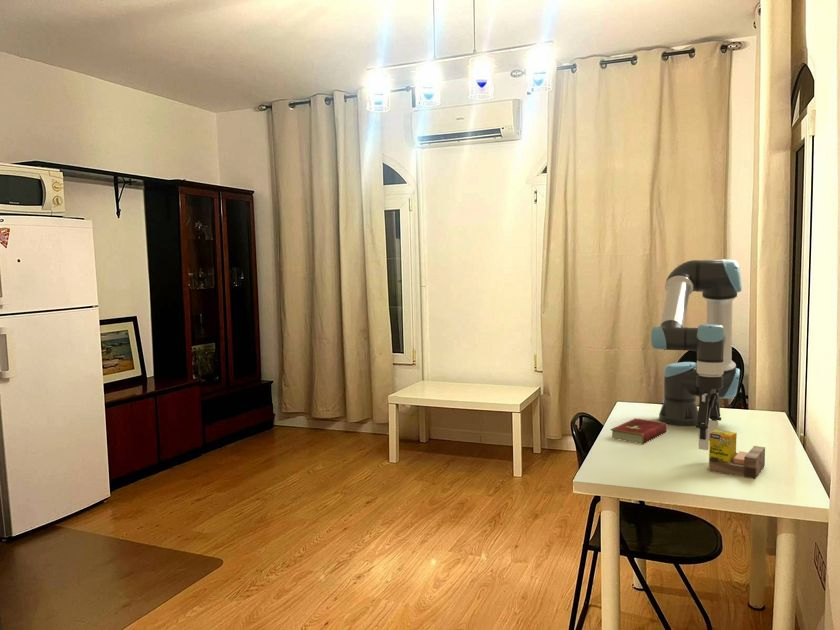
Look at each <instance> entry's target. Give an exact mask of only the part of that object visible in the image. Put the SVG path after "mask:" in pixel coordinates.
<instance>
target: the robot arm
mask: <svg viewBox="0 0 840 630" xmlns="http://www.w3.org/2000/svg"><path fill="white" fill-rule="evenodd" d="M664 288H665V292H666V293H665V301H664V305H663V310H662V313H661V318H660V319H661V320H660V324H659V326H653V327H652V329H651V334H650V342H651V347H652V349H655V350H664V351H689V352H690V351H691V352H692V351H693V352H696V362H694V361H682V362H681V361H680V362H673V363H669V364H667V365H665V368H664V374H663V378H664V386H663V387H664V388H663V389H664V391H663V392H664V393H663V397H664V398H663V402H662V405H661V408H660V411H659V414H658V420H659V422H662V423H666V424H668V425H674V426H695V428H696V429H698V448H697V449H698V450H702V451H709V442H710V433H711V432H713V431H715V430H716V429H718V430H719V421H720V422H721V421H722V417H721V406H720V399H722V400H724V399H734V398H735V397H736V396H737V393H738V387H739V382H740V375H741V370H740V368H737V364H736V362H734V361H733V360H732V358H733V357H732V356H733V355H732V354H733V353H732V351H733V350H732V349H733V346H732V345H733V344H732V343H733V301H734V300H735V299H737V297H738V293H740V292H742V290H743V289H742V278H741V268H740V265H739V262H738V261H737V260H735V259H725V258H724V259H701V260H699V259H698V260H696V259H693V260H692V259H691V260H687V261H685V262H683V263H681V264H679V265H678V266H676V267H675V268H674V269H672V270H671V272H670V273H669V274H668V276H667V278H666V280H665V284H664ZM694 292H699V293H701V292H702V293H701V294H702V298H703V299H704V300H706V324H705V323H704V324H699V325H698V327H685V323H686V318H687V313H688V312H687V311H688V305H689V299H690V298H689V297H690V295H691V294H692V293H694ZM697 397H698V398H699V400H698V401H699V402H698V403H699V404H698V406H697Z"/></svg>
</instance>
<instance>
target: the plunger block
mask: <svg viewBox="0 0 840 630" xmlns="http://www.w3.org/2000/svg"><path fill="white" fill-rule="evenodd" d="M737 453H738V454H737V455H736V456H735V457H734V461H733V463H738V464H744V457H745V456H746V454H747V453H748V452H745V451H739V452H737Z"/></svg>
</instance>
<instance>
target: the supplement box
mask: <svg viewBox="0 0 840 630" xmlns="http://www.w3.org/2000/svg"><path fill="white" fill-rule="evenodd" d="M736 453H737V432H734V431H733V432H732V431H727V430H723V429H722V430H721V429H719V428H718V429H716V430H715V431H713V432H711V433H710V441H709V450H708V454H709V455H708V460H709V459H710V458H711V457H713V458H719V460H720V461H726V462H732V463H733V461H734V457H735V456H736Z"/></svg>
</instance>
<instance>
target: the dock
mask: <svg viewBox="0 0 840 630" xmlns="http://www.w3.org/2000/svg"><path fill="white" fill-rule="evenodd" d="M738 453H739V452H736V455H737V454H738ZM746 453H747V454H746V456H745V457H744V464H738V463H732V462H726V461H720V460H719V458H713V457H711V458H710V459H709V458H708V471H709V472H712V473H719V474H724V475H725V474H726V475H729V476H730V475H731V476H736V477H742V478H748V479H752V478H753V480H756V479H757V478H756V477H758V476H759V475H760V474H759V473H761V472H762V471H763V470H764V468H765V467H764V466H766V464H765V462H766V459H765V458H766V447H765V446H758V445H753V446H752V448H751V449H749V451H748V452H746ZM761 470H762V471H761Z"/></svg>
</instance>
